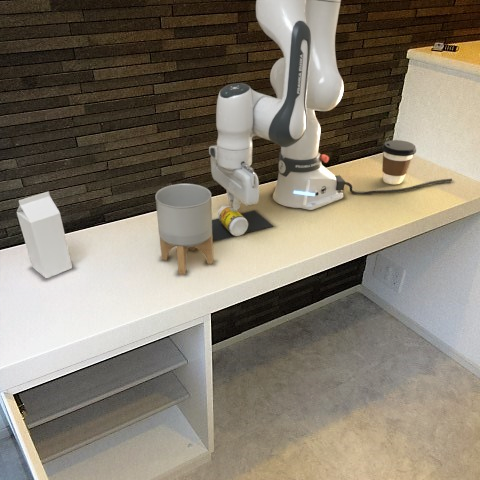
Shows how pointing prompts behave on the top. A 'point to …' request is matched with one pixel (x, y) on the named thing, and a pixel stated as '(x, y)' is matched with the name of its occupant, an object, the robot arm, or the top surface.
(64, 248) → the milk carton
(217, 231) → the rubber mat
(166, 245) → the planter
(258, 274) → the top surface
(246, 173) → the robot arm
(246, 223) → the supplement bottle
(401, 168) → the coffee cup
